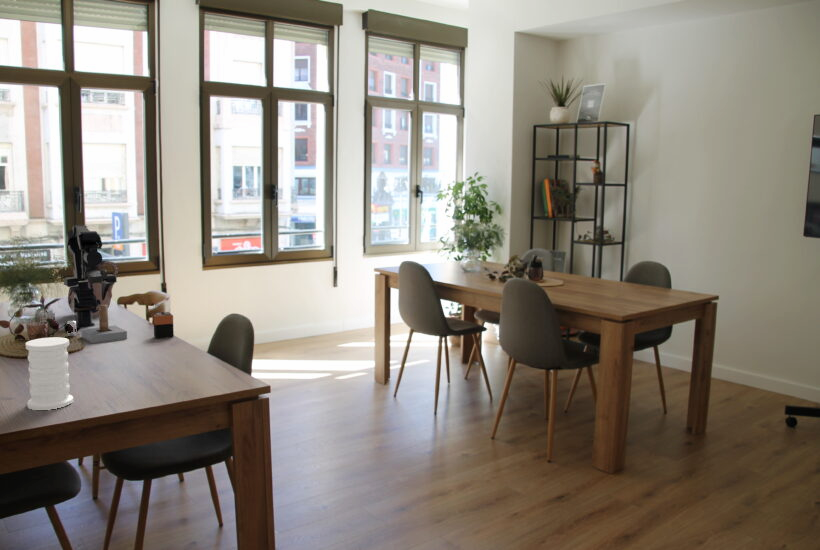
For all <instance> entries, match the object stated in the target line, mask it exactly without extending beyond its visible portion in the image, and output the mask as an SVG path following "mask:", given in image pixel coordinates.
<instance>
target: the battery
mask: <svg viewBox="0 0 820 550" xmlns="http://www.w3.org/2000/svg"><path fill="white" fill-rule="evenodd" d="M174 334H175V332H174V315H173V314H172V313H171V312H170V311H164V313H161V312H156V314H153V336H154V338H155V339H157V340H158V339H159V340H160V339H169V338H174V336H175V335H174Z"/></svg>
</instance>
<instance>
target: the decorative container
mask: <svg viewBox="0 0 820 550" xmlns="http://www.w3.org/2000/svg"><path fill="white" fill-rule="evenodd" d="M69 346H70V340H69V339H68V337H67V338H65V337H54V336H53V337H51V336H50V337H41V338H40V337H39V338H35V339H31V340H28V341H26V342H25V349H26V350H27V351H28V354H27V361H28V362H29V365H28V368H27V369H28V372H29V378H28V381H29V382H28V383H29V384H30V387H29V394H30V397H31V398H30V399H29V400H28V401H27V404H26V405H27V408H28V409H29V410H31V409H32V411H36V410H48V411H52V410H51V409H56V410H58V409H57V408H61V407H64V406H66V405H69V404H70V403H72V402H73V403H74V396H73V395H72V394H70V389H71V386H70V383H69V380H70V374H69V370H68V369H69V367H70V364H69V362H68V358H69V352H68V348H67V347H69ZM73 403H72V404H73ZM69 406H70V405H69ZM64 408H65V407H64ZM61 409H62V408H61Z"/></svg>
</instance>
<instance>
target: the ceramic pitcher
mask: <svg viewBox="0 0 820 550" xmlns="http://www.w3.org/2000/svg"><path fill="white" fill-rule="evenodd" d="M71 263H72V266H73V269H72V276H71V277H75V278H76V274H75V265H74V260H71ZM106 265H110V266H111V267H112V268H113V275H115V276H116V279H117V277H118V271H119V270H118V266H117V264H116V263H115V262H113V261H111V260H110V261H109V260H104V259H102V262H101V263H100V264H99V265H98V267H99V271H101V270H104V267H105V266H106ZM102 282H103V281H102ZM114 285H115V283H113V285H110V287H109V288H108V290H107V293H106V296H105V299H104V300H102V285H101V283H94V284H91V283H88V287H89V288H90V289H92V290H93V294H94V296H95V298H96V300H97V304H96V311H91V315H92V317H99V305H107V306H108V308H109V307H110V305H111V300H112V298H113V287H114ZM73 298H74V292H73V291H72V289H71V288H70V287H68V296H67V303H68V306H69V308H70V310H71V311H72V301H73ZM76 309H77V308H76ZM73 313H74V314H75V315H76V316H77V312H73Z"/></svg>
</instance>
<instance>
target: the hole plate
mask: <svg viewBox="0 0 820 550" xmlns="http://www.w3.org/2000/svg"><path fill="white" fill-rule="evenodd" d="M81 338H83V339H84V340H86V341H87V342H89V343H91V344H99V343H105V342H112V341H114V342H115V341H120V340H127V339H128V331H127V330H125V329H123V328H121V327H120V326H117V325H108V331H107V332H100V328H99V327H92V328H91V327H90V328H83V329H81Z"/></svg>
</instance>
